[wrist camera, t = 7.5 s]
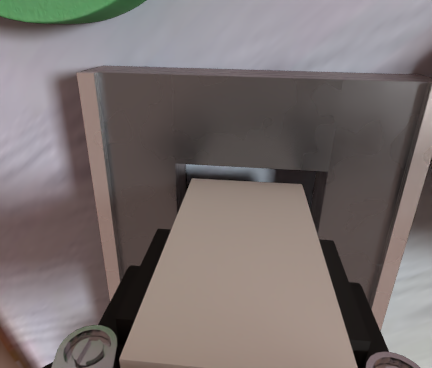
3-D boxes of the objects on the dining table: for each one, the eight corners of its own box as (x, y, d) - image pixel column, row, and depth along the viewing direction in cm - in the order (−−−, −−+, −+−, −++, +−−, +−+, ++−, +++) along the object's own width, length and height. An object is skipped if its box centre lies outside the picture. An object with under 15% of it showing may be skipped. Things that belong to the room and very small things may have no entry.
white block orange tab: (302, 184, 13) (382, 449, 5) (290, 273, 15) (335, 576, 7) (192, 178, 13) (95, 416, 5) (193, 265, 15) (123, 546, 7)
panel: (420, 74, 13) (452, 84, 11) (315, 488, 24) (321, 531, 22) (103, 65, 14) (76, 72, 12) (149, 465, 25) (140, 505, 23)
